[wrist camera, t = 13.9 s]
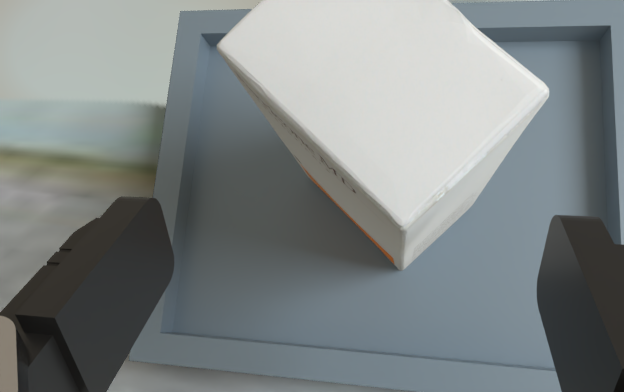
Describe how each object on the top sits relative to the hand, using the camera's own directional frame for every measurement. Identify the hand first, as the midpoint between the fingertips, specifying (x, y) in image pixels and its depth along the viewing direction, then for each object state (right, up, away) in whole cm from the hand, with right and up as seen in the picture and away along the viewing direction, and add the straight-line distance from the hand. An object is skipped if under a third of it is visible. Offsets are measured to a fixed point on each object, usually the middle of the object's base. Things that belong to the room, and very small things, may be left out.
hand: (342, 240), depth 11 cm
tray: (+3, +1, +12) cm, 12 cm away
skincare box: (+3, +1, +12) cm, 12 cm away
